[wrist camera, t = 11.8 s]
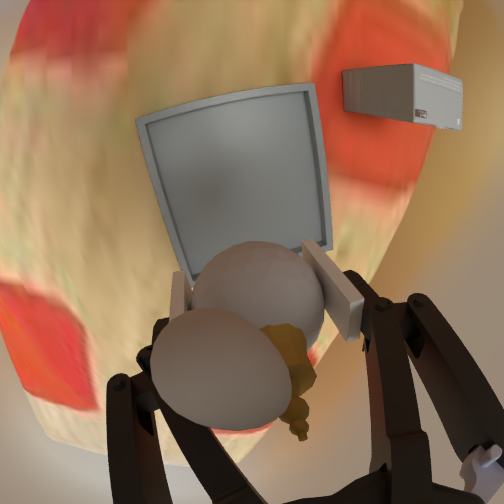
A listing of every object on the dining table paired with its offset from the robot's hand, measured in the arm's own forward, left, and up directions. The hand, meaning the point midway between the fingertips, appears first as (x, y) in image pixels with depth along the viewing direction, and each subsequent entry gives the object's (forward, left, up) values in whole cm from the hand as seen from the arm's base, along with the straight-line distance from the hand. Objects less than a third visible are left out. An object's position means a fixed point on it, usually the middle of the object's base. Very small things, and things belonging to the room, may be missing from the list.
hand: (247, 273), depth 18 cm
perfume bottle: (0, -1, -1) cm, 1 cm away
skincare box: (-10, +23, -21) cm, 33 cm away
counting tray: (0, +3, -21) cm, 21 cm away
